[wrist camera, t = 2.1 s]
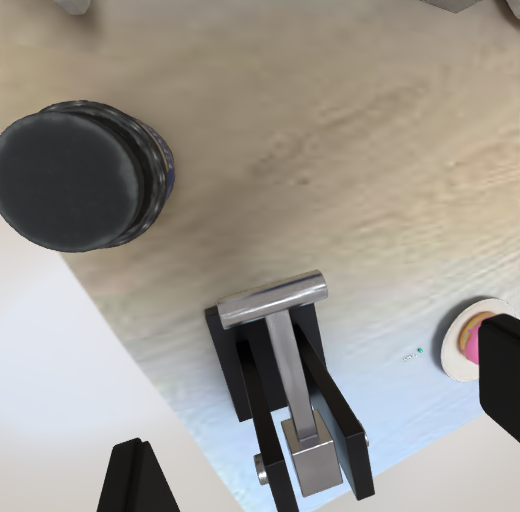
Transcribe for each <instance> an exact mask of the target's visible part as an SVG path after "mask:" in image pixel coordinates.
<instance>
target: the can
mask: <svg viewBox="0 0 520 512" xmlns="http://www.w3.org/2000/svg"><path fill="white" fill-rule="evenodd" d="M506 1H507V3H508V5H509V7H510V8H511V10H512V11H513V13H514V15H515V16H516V17H517V18H518V19H520V0H506Z"/></svg>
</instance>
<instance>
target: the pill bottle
mask: <svg viewBox="0 0 520 512" xmlns="http://www.w3.org/2000/svg"><path fill="white" fill-rule="evenodd" d="M174 180H175V169H174V162H173V156H172V153H171V150H170V149H169V147H168V146H167V144H166V142H165V141H164V140H163V139H162V137H161V136H160V135H159V134H158V133H157V132H156V131H155V130H153V129H152V128H150V127H149V126H147V125H146V124H144V123H142V122H140V121H139V120H137V119H135V118H133V117H131V116H129V115H127V114H125V113H123V112H121V111H119V110H117V109H115V108H113V107H112V106H108V105H106V104H101V103H98V102H89V101H86V100H82V101H81V100H79V101H67V102H61V103H57V104H52V105H51V106H48V107H46V108H44V109H42V110H41V111H39V112H38V113H35V114H32V115H28V116H26V117H24V118H22V119H19V120H17V121H15V122H14V123H13V124H12V125H10V126H9V127H7V128H6V130H5V131H3V132H2V134H1V135H0V214H1V215H2V217H3V218H4V219H5V221H6V222H7V223H9V225H10V226H11V227H12V228H14V229H15V230H16V231H17V232H18V233H19V234H20V235H21V236H23V237H25V238H26V239H28V240H29V241H31V242H33V243H35V244H37V245H39V246H42V247H44V248H47V249H51V250H55V251H60V252H70V253H75V252H86V251H91V250H95V249H102V248H111V247H116V246H120V245H122V244H126V243H128V242H130V241H132V240H133V239H135V238H137V237H138V236H140V235H141V234H142V233H144V232H145V231H146V230H147V229H148V228H149V227H150V226H151V225H152V224H153V223H154V222H155V220H156V219H157V217H158V215H159V213H160V212H161V210H162V208H163V206H164V204H165V202H166V200H167V198H168V197H169V195H170V193H171V191H172V188H173V185H174Z"/></svg>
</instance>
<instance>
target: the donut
mask: <svg viewBox="0 0 520 512" xmlns="http://www.w3.org/2000/svg"><path fill="white" fill-rule="evenodd" d="M501 313H506V314H509V315H511V316H513V317H515V313H514V311H513V309H512V308H511V306H510V305H509V304H508V303H506V302H505V301H503V300H500V299H485V300H481V301H479V302H477V303H475V304H472V305H471V306H470V307H468V308H467V309H465V310H464V311H463V312H462V313H461V314H460V315H459V316H458V317H457V318H456V319H455V321H454V322H453V323H452V324H451V326H450V328H449V329H448V331H447V333H446V335H445V338H444V340H443V344H442V348H441V364H442V367H443V369H444V371H445V373H446V374H447V375H448V376H449V377H450V378H452V379H453V380H456V381H460V382H469V381H474V380H477V379H479V360H478V328H479V327H480V326H481V322H482V320H484V319H486V318H489V317H492V316H495V315H498V314H501ZM515 318H516V317H515ZM419 352H420V353H422V352H423V350H422V349H419ZM413 354H414V353H413ZM414 355H415V354H414ZM410 356H411V355H410ZM415 356H417V355H415ZM411 357H412V358H414V357H413V356H411ZM408 358H410V357H409V356H408ZM406 359H407V358H406ZM410 359H411V358H410ZM407 360H408V359H407ZM403 361H405V360H404V359H403ZM405 362H406V361H405Z"/></svg>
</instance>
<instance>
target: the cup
mask: <svg viewBox="0 0 520 512" xmlns="http://www.w3.org/2000/svg"><path fill="white" fill-rule="evenodd" d="M53 1H54V2H56V3H57V4H58V5H59V6H60V7H61V8H63V9H64V10H65V11H66V12H67V13H69V14H85V12H86V11H87V9H88V7H89V6H90V4H91V0H53Z"/></svg>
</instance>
